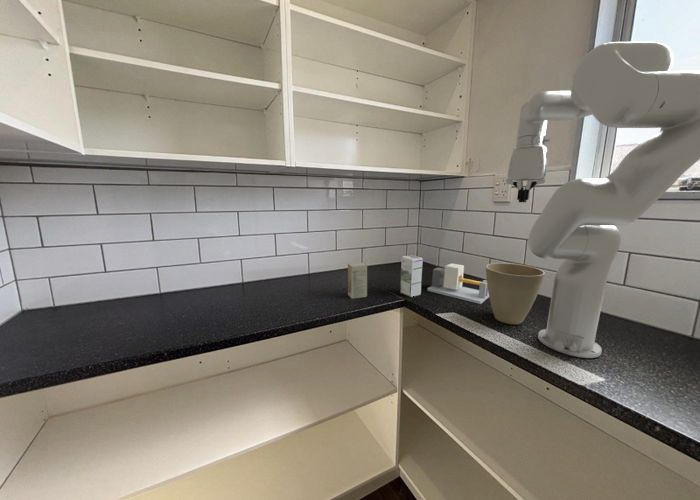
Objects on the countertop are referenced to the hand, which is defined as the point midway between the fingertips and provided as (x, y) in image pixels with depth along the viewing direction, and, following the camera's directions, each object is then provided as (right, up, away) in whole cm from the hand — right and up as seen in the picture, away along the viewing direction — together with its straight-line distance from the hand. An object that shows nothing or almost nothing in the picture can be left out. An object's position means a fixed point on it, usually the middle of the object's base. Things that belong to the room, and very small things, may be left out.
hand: (522, 202), depth 91 cm
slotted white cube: (-17, -30, +17) cm, 38 cm away
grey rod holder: (-15, -33, +16) cm, 39 cm away
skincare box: (-54, -33, +11) cm, 65 cm away
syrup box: (-34, -33, +14) cm, 49 cm away
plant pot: (-9, -37, -7) cm, 39 cm away
